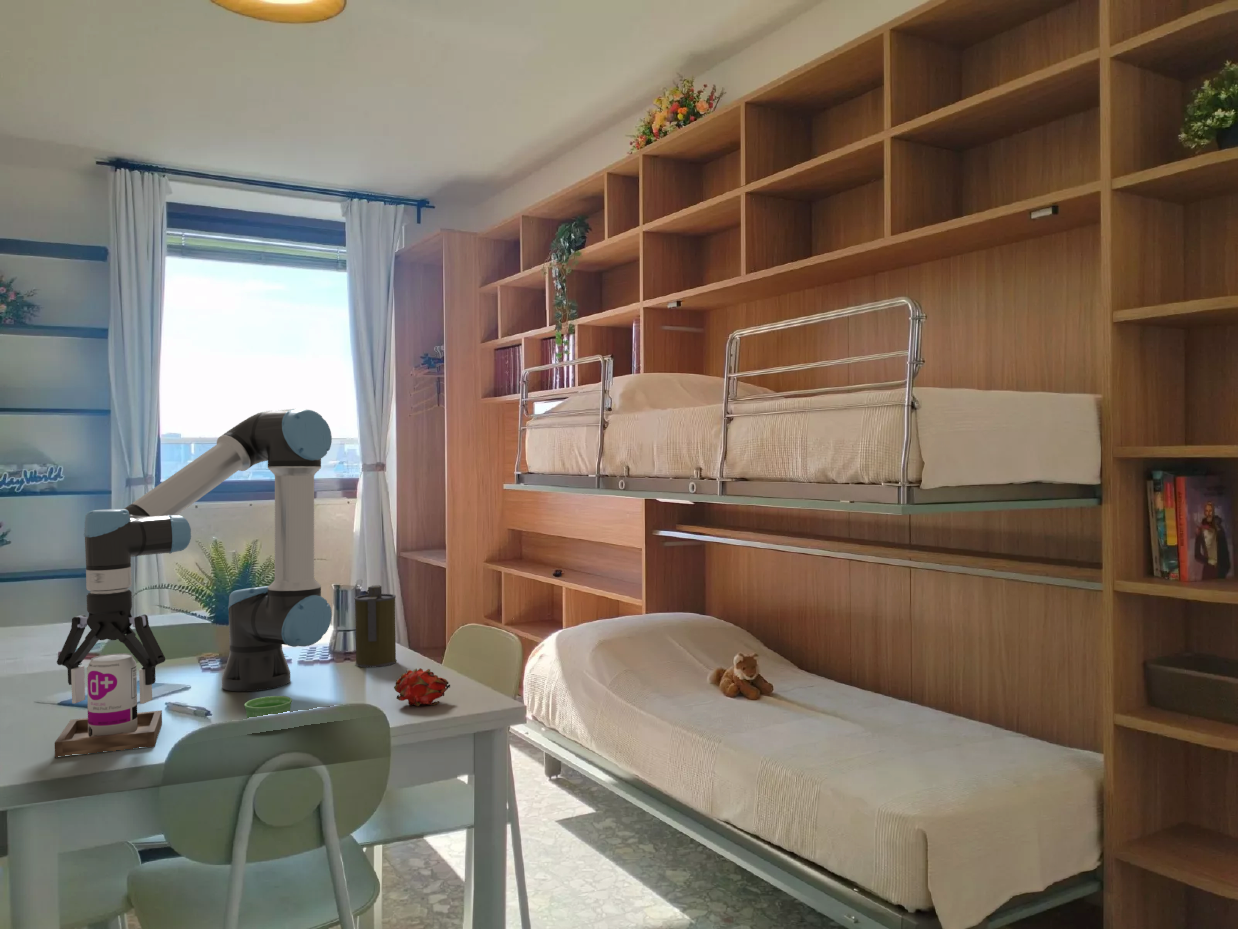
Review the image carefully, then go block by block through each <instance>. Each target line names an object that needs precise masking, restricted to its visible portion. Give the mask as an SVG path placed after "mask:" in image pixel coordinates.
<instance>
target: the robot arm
mask: <svg viewBox="0 0 1238 929" xmlns="http://www.w3.org/2000/svg"><path fill="white" fill-rule="evenodd" d="M332 439H333V437H332V431H331V428H330V426H329V424H328V422H327V420H325V419H324V418H323V416H322V415H321V414H319V413H318V412H316V411H315V410H312V409H307V408H305V409H304V408H292V409H291V408H290V409H281V410H279V409H278V410H265V411H261V412H258V413H256V414H253V415H251V416H249V417H248V418H246V419H244V420H243V421H241V422H239V423H238V424H236V425H235V426H233V427H232V428H231V429H229V430H227V431H226V432H224V433H223V434H222V435H220V436H219V437H218V438H217V440H216V444H215V445H214V446H212V447H211V448H209V449H208V450H206V451H205V452H204V453H202V454H201V455H200V456H197V458H195V459H193V460H192V461H191V462H189V463H188V464H186V465H185V466H183V467H182V468H181V469H179V470H178V471H177V472H175V473H174V474H172V475H171V476H169V477H167V478H166V479H165V480H163V481H162V482H161V483H159V484H158V485H156V486H155V487H153V488H152V489H151V490H149V491H147V492H146V493H144V495H142V496H140V497H139V498H138V499H137V500H135V501H132V503H130V504H129V505H127V506H126V507H124V508H108V509H95V510H90V511H88V512H87V513H86V514H85V517H84V532H83V537H84V549H85V550H84V552H85V576H86V577H85V578H86V581H85V584H86V586H85V588H86V590H87V591H89V592H88V593H87V594H86V611H87V613H88V616H86V615H85V614H79V615H77V616H74V617H72V618H71V626H70V630H69V632H68V633H69V634H68V635H67V637H66V639H65V642H64V644H63V646H62V649H61V651H60V654H59V656H58V657H57V660H56V664H57V665H58V666H63V667H65V668H66V669H67V683H68V685H69V686H70V685H71V704H78V703H80V702H82V701H84V700H86V683H85V681H86V680H85V676H86V675H85V674H86V673H85V665H82V664H83V663H82V662H83V661H84V659H85V658H86V657H87V656H88V654H89V653H90V652H91V651H92V650H93V648H94V646H95V645H96V644H97V643H98V641H105V640H109V641H117V640H118V642H120V643H122V644H124V646H125V647H126V648H127V650H129V652H130V654H132V655H133V656H134V659H136V660H137V662H139V664H140V665H141V666H142V667H141V668H139V669H138V672H139V673H138V680H139V681H138V682H139V704H147V703H148V702H151V701H153V684H155V683H156V666H158V665H159V664H163V663H165V661H166V657H165V654H164V653H163V651H162V649H161V646H160V645H159V643H158V641H157V639H156V637H155V635H154V632H153V631H152V629H151V627H150V625H149V624H150V623H149V616H148V615H147V614H142V615H138V616H132V612H131V611H132V607H133V596H132V591H131V590H130V589H129V588H131V587H132V564H131V562H132V558H135V557H140V556H152V555H161V554H172V553H177V552H182V551H184V550H186V549H187V548H188V547H189V545H190V543H191V539H192V533H191V532H192V529H191V525H190V523H189V521H188V520H187V518H185V516H182V515H179V514H180V513H182V512H183V511H185V510H186V509H187V508H189V507H190V506H192V505H193V504H194V503H196V502H197V501H199V500H200V499H201V498H202V497H204V496H205V495H207V494H208V493H209V492H211V491H213V490H214V489H215V488H216V487H218V486H219V485H221V484H222V483H223V482H224V481H226V480H227V479H229V478H230V477H231V476H233V475H234V474H235V473H237V472H238V471H239V472H246V471H247V470H248V469H250V468H251V467H253V466H255V465H256V464H259V463H263V462H267V469H268V470H270V472H271V473H272V474H273V475H274V580H273V581H272V582H271V583H270V584H269V585H265V586H257V587H249V588H243V589H241V588H240V589H237V590H234V591H231V593H230V594H229V596H228V606H227V609H228V629H229V630H228V631H229V632H228V635H229V638H228V639H229V640H228V641H229V654H228V655H229V656H228V658H227V661H226V663H225V664H226V665H225V668H224V670H223V674H222V677H221V689H223V690H225V691H229V692H256V691H257V692H258V691H265V690H271V689H276V688H279V687H283V686H285V685H287V683H288V684H289V683H290V682H291V670H290V666H289V665H288V661H287V658H286V656H285V652H284V651H283V645H285V646H289V647H293V648H296V647H302V648H303V647H309V646H312V645H315V644H316V643H318V642H319V641H321V639H322V638H323V637H324V635H326V633H327V632H328V631H329V628H330V626H331V621H332V616H333V614H332V608H331V605H330V603H329V602H328V600H327V599H325V597H322V586H321V585H322V584H320V583H319V582H318V581H317V580H316V579H315V475H316V474H317V473H318V472H319V471H320V469H321V468H322V459H323V458H324V457H325V456H327V454H328V452H329V451H330V449H331V447H332V443H333V442H332ZM87 626H88V627H89V629H90V631H89V632H87V635H86V636H85V637H84V640H83V641H82V643H81V644H80V645H79V643H80V641H81V639H82V637H83V635H84V633H85V630H86V627H87ZM131 626H132V627H133V628H134V629H135V631H136V633H135V631H134V630H133V629H132V628H131ZM136 634H137V636H138V638H139V639H138V638H137V636H136ZM78 646H79V647H78Z"/></svg>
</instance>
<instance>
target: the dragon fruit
mask: <svg viewBox="0 0 1238 929" xmlns="http://www.w3.org/2000/svg"><path fill="white" fill-rule="evenodd" d="M449 688H451V684H450V682H449V681H448V680H447V679H445V678H444V677H439V676H438V675H436V674H435V673H434V672H433V671H431V669H430V668H427V669H426V670H424V669H422V668H419V669H417V668H415V669H414V670H411V669H406V673H405V672H404V673H401V675H400V677H399V678H397V680H395V685H394V686H393V689H394V691H395V692H396V693H398V694H397V695H396V699H397V700H398V701H400V702H401V701H407V704H408V705H409V706H411V707H412V706H416V707H419V706H420V705H429V706H436V705H438V704H439V703H440V700H438V701H434V700H437V699H439V698H441V697H444V696H445V692H447V690H448V689H449Z"/></svg>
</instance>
